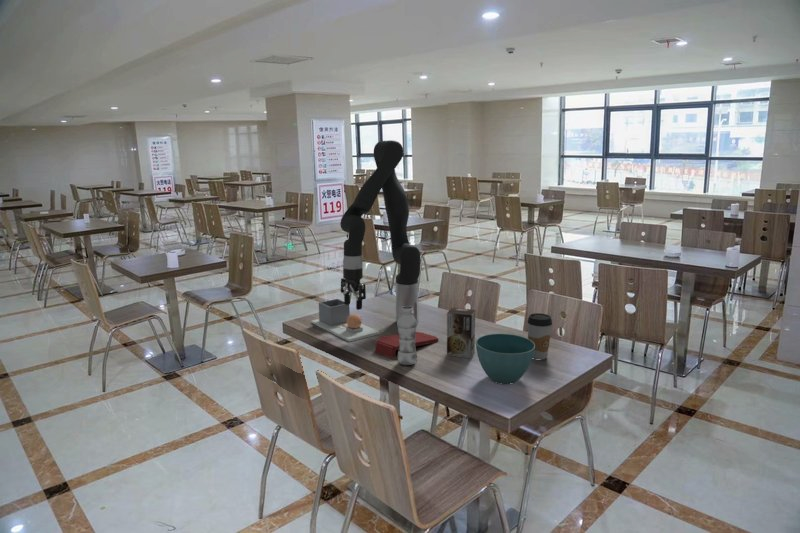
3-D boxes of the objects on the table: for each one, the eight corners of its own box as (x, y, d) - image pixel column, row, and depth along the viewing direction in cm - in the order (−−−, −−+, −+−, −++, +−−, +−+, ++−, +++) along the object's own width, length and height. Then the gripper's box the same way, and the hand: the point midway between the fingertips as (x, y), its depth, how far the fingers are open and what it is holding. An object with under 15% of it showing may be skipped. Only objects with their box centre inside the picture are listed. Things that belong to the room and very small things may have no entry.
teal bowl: (490, 363, 189) (491, 329, 186) (541, 376, 179) (543, 340, 176) (465, 382, 174) (466, 345, 171) (519, 396, 164) (521, 358, 161)
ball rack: (311, 322, 232) (310, 302, 230) (339, 316, 241) (339, 296, 239) (349, 341, 210) (348, 319, 208) (379, 334, 218) (378, 312, 216)
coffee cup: (536, 363, 189) (538, 321, 185) (520, 355, 196) (522, 314, 193) (555, 359, 192) (557, 318, 189) (538, 351, 200) (541, 311, 196)
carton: (415, 343, 219) (371, 351, 201) (416, 331, 219) (372, 338, 200) (439, 350, 212) (395, 359, 193) (440, 338, 211) (396, 345, 192)
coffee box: (475, 352, 199) (476, 309, 195) (471, 358, 193) (472, 314, 189) (450, 349, 202) (451, 307, 198) (445, 355, 196) (446, 312, 192)
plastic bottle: (417, 367, 186) (417, 310, 181) (397, 367, 186) (396, 310, 181) (417, 360, 192) (417, 305, 188) (397, 360, 192) (397, 304, 188)
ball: (363, 326, 222) (362, 312, 220) (360, 331, 216) (360, 316, 214) (348, 325, 222) (348, 311, 221) (345, 330, 216) (344, 316, 215)
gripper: (371, 268, 210) (371, 309, 214) (350, 262, 221) (351, 301, 225) (354, 271, 206) (355, 312, 209) (334, 264, 217) (335, 304, 220)
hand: (353, 306), depth 217 cm, fingers open, 8 cm apart
